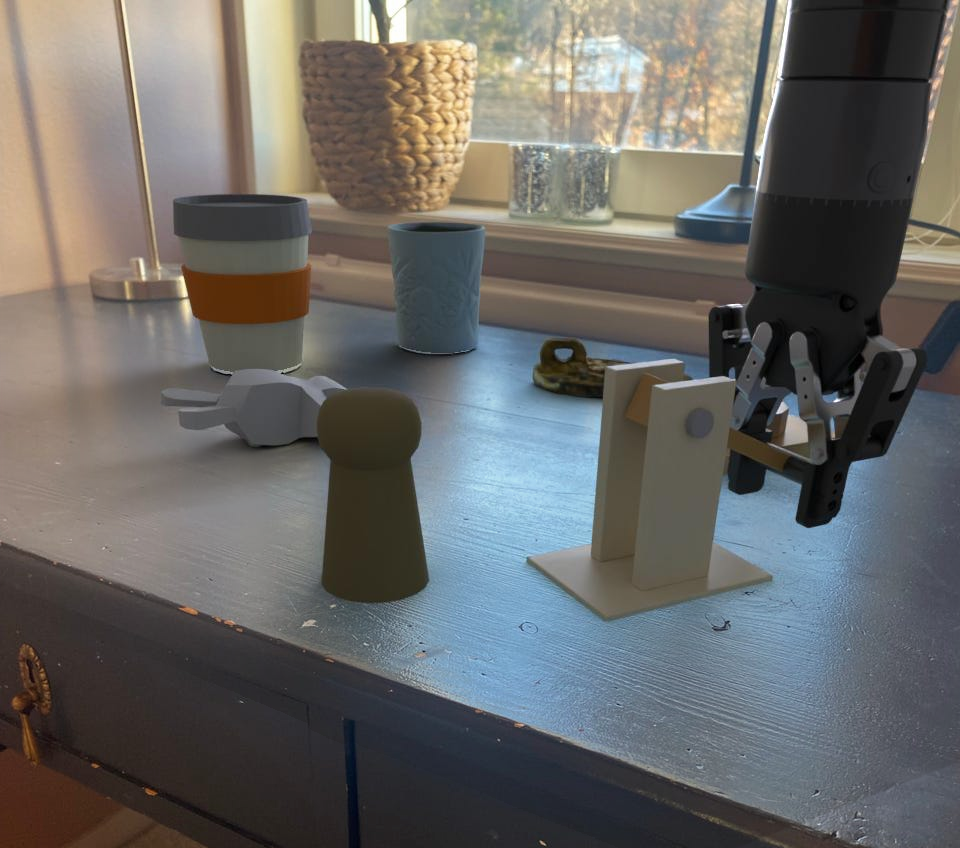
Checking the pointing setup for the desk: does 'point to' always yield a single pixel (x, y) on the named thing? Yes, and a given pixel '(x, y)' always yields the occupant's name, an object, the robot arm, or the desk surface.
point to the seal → (572, 369)
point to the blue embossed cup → (437, 284)
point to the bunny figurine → (257, 406)
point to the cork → (371, 496)
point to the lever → (754, 449)
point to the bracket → (655, 500)
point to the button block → (786, 434)
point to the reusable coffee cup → (247, 276)
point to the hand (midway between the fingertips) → (777, 505)
